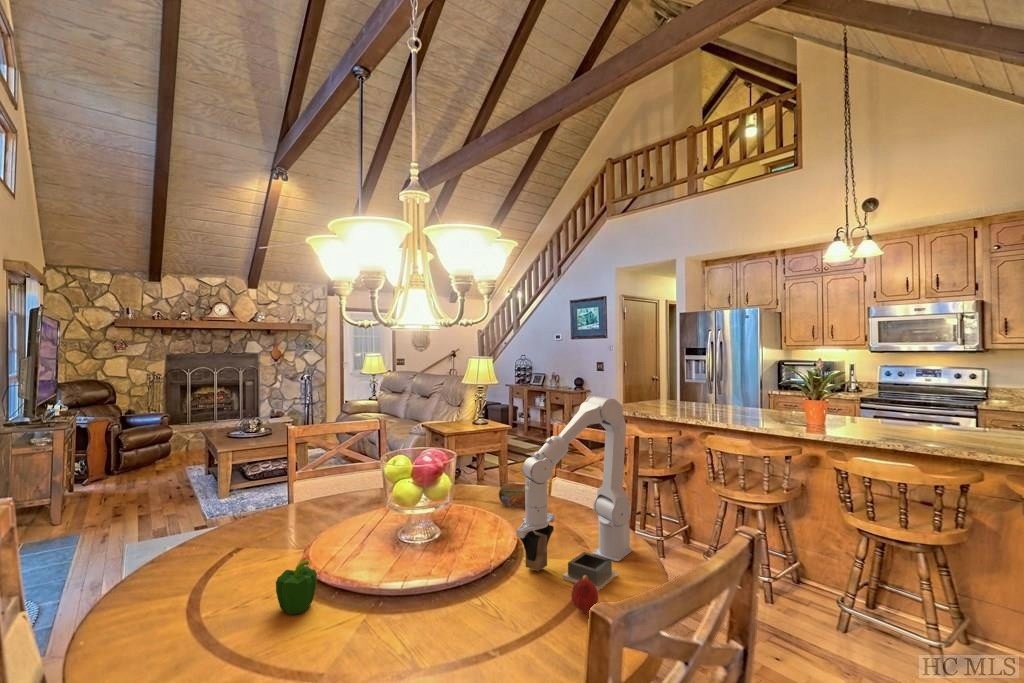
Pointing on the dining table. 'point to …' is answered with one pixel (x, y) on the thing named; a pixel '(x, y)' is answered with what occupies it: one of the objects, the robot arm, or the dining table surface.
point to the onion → (584, 594)
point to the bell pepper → (296, 588)
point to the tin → (513, 494)
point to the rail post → (539, 554)
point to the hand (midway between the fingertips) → (536, 556)
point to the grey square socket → (590, 570)
